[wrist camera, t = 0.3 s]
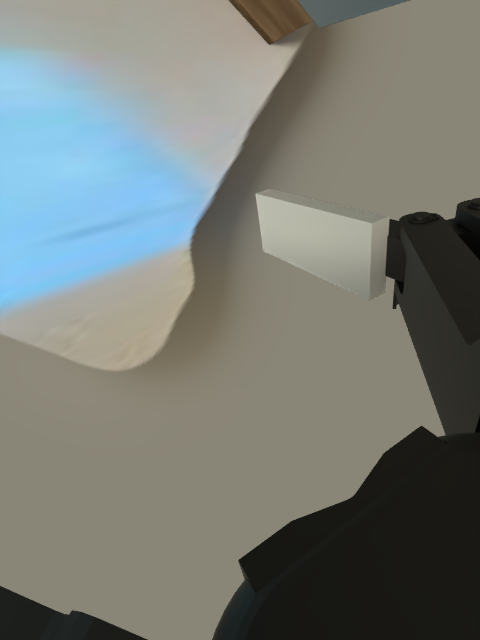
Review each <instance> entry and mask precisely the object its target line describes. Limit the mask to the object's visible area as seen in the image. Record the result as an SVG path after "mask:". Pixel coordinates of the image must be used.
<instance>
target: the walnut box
mask: <svg viewBox="0 0 480 640" xmlns="http://www.w3.org/2000/svg"><path fill="white" fill-rule="evenodd" d="M229 1H230V2H231V3H232V4H233V6H234V7H235V8H236V9H237V10H238V11H239V12H240V13H241V14H242V15H243V17H244V18H245V19H246V20H247V21H248V22H249V23H250V24H251V25H252V26H253V28H254V29H255V30H256V31H257V32H258V33H259V34H260V35H261V36H262V37H263V39H264V40H265V41H266V42H267V43H268V44H271V43H273V42H274V41H276V40H278V39H280V38H282V37H284V36H285V35H287V34H289V33H291V32H293V31H295V30H296V29H298V28H300V27H302V26H304V25H306V24H307V23H309V22H311V21H313V20H312V18H311V17H310V16H309V14H308V13H307V12H306V11H305V9H304V8H303V7H302V5H301V4H300V3H299V1H298V0H229Z"/></svg>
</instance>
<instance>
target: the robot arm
mask: <svg viewBox="0 0 480 640" xmlns="http://www.w3.org/2000/svg"><path fill="white" fill-rule="evenodd" d="M256 201H257V207H258V215H259V222H260V230H261V237H262V245H263V251H264V252H266V253H269V254H271V255H273V256H275V257H277V258H279V259H281V260H283V261H286V262H288V263H290V264H292V265H294V266H296V267H298V268H301V269H303V270H305V271H307V272H309V273H311V274H313V275H316V276H318V277H320V278H322V279H324V280H326V281H328V282H331V283H333V284H335V285H337V286H339V287H341V288H344V289H346V290H348V291H350V292H352V293H354V294H356V295H358V296H361V297H363V298H365V299H367V300H371V299H373V298H375V297H377V296H379V295H381V294H383V293H385V283H386V282H385V281H386V276H388V277H390V278H393V279H395V284H394V297H393V309H396V305H397V304H399V305H400V308H401V311H402V314H403V316H404V320H405V322H406V325H407V327H408V331H409V334H410V336H411V339H412V342H413V345H414V348H415V350H416V353H417V356H418V359H419V362H420V364H421V367H422V370H423V373H424V376H425V378H426V381H427V384H428V386H429V390H430V392H431V395H432V398H433V400H434V404H435V406H436V409H437V412H438V415H439V418H440V420H441V423H442V426H443V429H444V431H445V434H446V435H445V436H440V437H437V436H435V435H434V434H433V433H431V432H430V431H428V430H427V429H426V428H424V427H423V426H420V427H419V428H417V429H416V430H415V431H413V432H412V433H411V434H409V435H408V436H407V437H406V438H404V439H403V440H401V441H400V442H398V443H397V444H396V445H394V446H393V447H392V448H390V449H389V450H388V451H386V452H385V453H384V454H383V455H382V457H381V458H380V459H379V461H378V462H377V464H376V465H375V467H374V468H373V470H372V471H371V472H370V474H369V475H368V477H367V478H366V479H365V481H364V482H363V484H362V485H361V487H360V488H359V489H358V491H357V492H356V494H355V495H354V496H353V497H351V498H350V499H348V500H346V501H343V502H341V503H338V504H335V505H333V506H330V507H327V508H325V509H322V510H319V511H317V512H314V513H312V514H309V515H307V516H304V517H301V518H298V519H296V520H293V521H291V522H290V523H289V524H287V525H286V526H284V527H283V528H282V529H280V530H279V531H277V532H276V533H275V534H273V535H272V536H271V537H269V538H268V539H267V540H265V541H264V542H262V543H261V544H260V545H259V546H257V547H256V548H254V549H253V550H252V551H250V552H249V553H247V554H246V555H245V556H243V557H242V558H241V559H239V564H240V567H241V569H242V572H243V576H244V578H245V580H244V582H243V583H242V585H241V586H240V587H239V588H238V590H237V591H236V592H235V594H234V595H233V597H232V599H231V601H230V602H229V604H228V606H227V607H226V609H225V611H224V613H223V615H222V617H221V619H220V622H219V624H218V626H217V628H216V630H215V633H214V636H213V639H212V640H480V198H475V199H472V200H467V201H464V202H461V203H459V204H458V205H457V210H456V217H455V218H453V219H449V220H445V219H444V218H443V217H441V216H440V215H438V214H436V213H428V212H416V213H414V214H408V215H405V216H403V217H401V218H400V219H399V221H396V220H392V219H389V218H390V217H389V216H387V215H383V214H378V213H374V212H370V211H365V210H360V209H356V208H352V207H347V206H342V205H339V204H334V203H330V202H325V201H320V200H316V199H312V198H307V197H303V196H299V195H294V194H290V193H285V192H281V191H276V190H272V189H268V190H265V191H262V192H259V193H256ZM0 640H147V639H145V638H142V637H140V636H138V635H136V634H133V633H131V632H129V631H126V630H124V629H121V628H119V627H117V626H115V625H112V624H110V623H108V622H105V621H103V620H101V619H98V618H96V617H93V616H91V615H88V614H85V613H83V612H79V611H71V613H70V614H69V615H67V614H63V613H60V612H57V611H55V610H53V609H51V608H48V607H46V606H44V605H41V604H39V603H37V602H35V601H33V600H30V599H28V598H26V597H24V596H21V595H19V594H17V593H15V592H12V591H10V590H8V589H6V588H3V587H1V586H0Z"/></svg>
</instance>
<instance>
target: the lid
mask: <svg viewBox="0 0 480 640" xmlns="http://www.w3.org/2000/svg"><path fill="white" fill-rule="evenodd" d="M298 1H299V3H300V4H301V5H302V7H303V8H304V9H305V11H306V12H307V13H308V14H309V16H310V17H311V18H312V20H313V21H314V22H315V23H316V25H317V26H318V27H319V28H321V27H324V26H328V25H331V24H334V23H337V22H341V21H344V20H347V19H351V18H354V17H357V16H360V15H364V14H367V13H370V12H373V11H377V10H380V9H383V8H386V7H390V6H393V5H396V4H400V3H403V2H406V1H409V0H298Z"/></svg>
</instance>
